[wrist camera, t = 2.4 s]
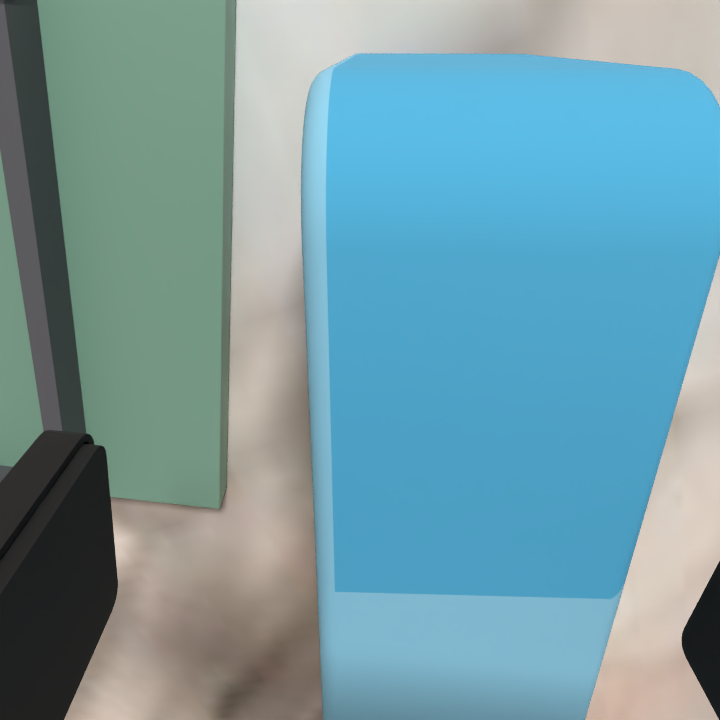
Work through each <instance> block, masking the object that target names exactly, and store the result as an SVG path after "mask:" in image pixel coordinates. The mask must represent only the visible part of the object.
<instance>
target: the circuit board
mask: <svg viewBox="0 0 720 720" xmlns="http://www.w3.org/2000/svg"><path fill="white" fill-rule="evenodd" d="M235 27H236V0H0V482H1V481H2V480H3V479H4V477H5V476H6V475H7V474H8V473H9V471H10V470H11V469H12V468H13V467H14V465H15V464H16V463H17V462H18V461H19V459H20V458H21V457H22V456H23V455H24V453H25V452H26V451H27V450H28V449H29V447H30V446H31V445H32V444H33V443H34V441H35V440H36V439H37V438H38V437H39V435H40V434H41V433H43V432H44V431H46V430H56V431H66V432H77V433H87V434H90V435H91V436H92V438H93V440H94V445H102V446H104V448H105V450H106V454H107V465H108V477H109V488H110V497H116V498H125V499H134V500H143V501H152V502H161V503H170V504H179V505H188V506H197V507H206V508H215V509H219V508H220V505H221V503H222V500H223V497H224V494H225V491H226V488H227V443H228V391H229V339H230V287H231V235H232V183H233V131H234V79H235Z"/></svg>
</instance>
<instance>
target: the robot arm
mask: <svg viewBox="0 0 720 720" xmlns="http://www.w3.org/2000/svg"><path fill="white" fill-rule="evenodd" d="M117 588H118V579H117V568H116V557H115V545H114V534H113V522H112V511H111V500H110V488H109V477H108V465H107V454H106V450H105V448H104V446H102V445H94V440H93V438H92V436H91V435H90V434H87V433H77V432H66V431H56V430H46V431H44V432H43V433H41V434H40V435H39V437H38V438H37V439H36V440H35V441H34V443H33V444H32V445H31V446H30V447H29V449H28V450H27V451H26V452H25V453H24V455H23V456H22V457H21V458H20V459H19V461H18V462H17V463H16V464H15V465H14V467H13V468H12V469H11V470H10V471H9V473H8V474H7V475H6V476H5V477H4V479H3V480H2V481H1V482H0V720H64V718H65V716H66V714H67V711H68V709H69V707H70V705H71V702H72V700H73V698H74V696H75V693H76V691H77V689H78V687H79V684H80V682H81V680H82V678H83V675H84V673H85V671H86V668H87V666H88V664H89V662H90V659H91V657H92V655H93V653H94V650H95V648H96V646H97V644H98V641H99V639H100V637H101V635H102V632H103V630H104V628H105V626H106V623H107V621H108V619H109V616H110V614H111V612H112V609H113V607H114V604H115V600H116V595H117ZM682 647H683V651H684V654H685V656H686V659H687V660H688V662H689V664H690V666H691V668H692V670H693V672H694V674H695V675H696V677H697V679H698V681H699V683H700V685H701V687H702V688H703V690H704V692H705V694H706V696H707V698H708V700H709V701H710V703H711V705H712V707H713V709H714V711H715V713H716V714H717V716H718V718H719V720H720V561H719V563H718V565H717V567H716V569H715V571H714V573H713V575H712V577H711V579H710V580H709V582H708V584H707V586H706V588H705V590H704V592H703V594H702V596H701V597H700V599H699V601H698V603H697V605H696V607H695V609H694V611H693V613H692V615H691V616H690V618H689V620H688V622H687V624H686V626H685V628H684V630H683V633H682Z"/></svg>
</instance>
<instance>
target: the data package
mask: <svg viewBox="0 0 720 720" xmlns="http://www.w3.org/2000/svg"><path fill="white" fill-rule="evenodd" d="M301 229H302V255H303V278H304V300H305V323H306V346H307V369H308V391H309V414H310V437H311V460H312V482H313V505H314V528H315V551H316V573H317V596H318V619H319V642H320V664H321V687H322V710H323V720H585V718H586V715H587V711H588V708H589V704H590V701H591V697H592V694H593V691H594V687H595V684H596V680H597V677H598V673H599V670H600V666H601V663H602V659H603V656H604V653H605V649H606V646H607V642H608V639H609V635H610V632H611V628H612V625H613V621H614V618H615V615H616V611H617V608H618V604H619V601H620V597H621V594H622V590H623V587H624V584H625V580H626V577H627V573H628V570H629V566H630V563H631V559H632V556H633V552H634V549H635V546H636V542H637V539H638V535H639V532H640V528H641V525H642V521H643V518H644V514H645V511H646V508H647V504H648V501H649V497H650V494H651V490H652V487H653V483H654V480H655V476H656V473H657V470H658V466H659V463H660V459H661V456H662V452H663V449H664V445H665V442H666V439H667V435H668V432H669V428H670V425H671V421H672V418H673V414H674V411H675V407H676V404H677V401H678V397H679V394H680V390H681V387H682V383H683V380H684V376H685V373H686V369H687V366H688V363H689V359H690V356H691V352H692V349H693V345H694V342H695V338H696V335H697V331H698V328H699V325H700V321H701V318H702V314H703V311H704V307H705V304H706V300H707V297H708V294H709V290H710V287H711V283H712V280H713V276H714V273H715V269H716V266H717V262H718V259H719V256H720V107H719V104H718V102H717V101H716V99H715V97H714V95H713V94H712V92H711V91H710V89H709V88H708V87H707V86H706V85H705V84H704V83H703V81H701V80H700V79H699V78H697V77H696V76H694V75H693V74H691V73H689V72H686V71H682V70H679V69H672V68H661V67H651V66H640V65H630V64H620V63H609V62H599V61H589V60H578V59H568V58H557V57H547V56H537V55H526V54H354V55H352V56H350V57H348V58H346V59H345V60H343V61H341V62H339V63H337V64H335V65H333V66H331V67H329V68H327V69H325V70H323V71H322V72H320V73H319V74H318V75H317V77H316V78H315V79H314V81H313V82H312V84H311V87H310V90H309V93H308V97H307V102H306V109H305V117H304V127H303V141H302V165H301Z"/></svg>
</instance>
